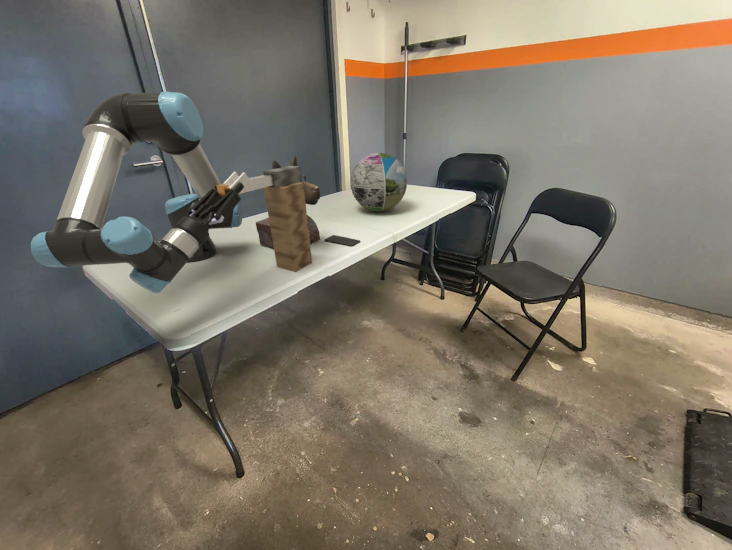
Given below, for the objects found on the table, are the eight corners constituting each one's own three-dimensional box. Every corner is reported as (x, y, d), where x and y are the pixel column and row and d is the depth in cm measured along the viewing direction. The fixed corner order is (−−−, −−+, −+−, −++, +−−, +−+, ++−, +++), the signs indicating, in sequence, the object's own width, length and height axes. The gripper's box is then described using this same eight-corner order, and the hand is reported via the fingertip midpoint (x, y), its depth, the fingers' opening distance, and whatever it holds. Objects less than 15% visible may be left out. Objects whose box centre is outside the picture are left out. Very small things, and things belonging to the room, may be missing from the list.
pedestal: (293, 273, 114) (279, 172, 98) (275, 267, 118) (258, 170, 103) (315, 260, 123) (305, 166, 107) (297, 256, 127) (285, 165, 112)
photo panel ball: (397, 220, 164) (398, 157, 150) (343, 216, 174) (339, 156, 160) (412, 205, 189) (414, 150, 175) (363, 202, 199) (361, 149, 185)
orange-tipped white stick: (225, 197, 88) (223, 186, 87) (218, 196, 90) (216, 185, 88) (286, 181, 106) (284, 172, 104) (279, 181, 107) (278, 171, 106)
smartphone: (352, 246, 134) (323, 239, 141) (352, 248, 134) (323, 241, 141) (361, 240, 139) (333, 234, 146) (361, 242, 140) (333, 236, 147)
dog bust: (309, 259, 124) (297, 162, 109) (259, 245, 138) (242, 158, 122) (338, 243, 138) (332, 155, 122) (290, 232, 152) (279, 153, 136)
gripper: (179, 241, 89) (231, 184, 100) (216, 252, 82) (269, 188, 92) (157, 222, 84) (215, 163, 94) (196, 231, 76) (254, 166, 86)
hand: (242, 176), depth 93 cm, fingers closed on orange-tipped white stick, 3 cm apart
